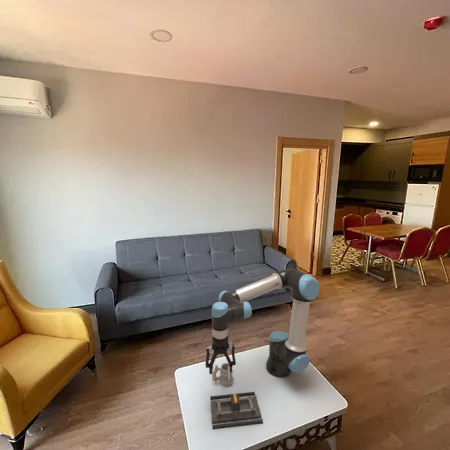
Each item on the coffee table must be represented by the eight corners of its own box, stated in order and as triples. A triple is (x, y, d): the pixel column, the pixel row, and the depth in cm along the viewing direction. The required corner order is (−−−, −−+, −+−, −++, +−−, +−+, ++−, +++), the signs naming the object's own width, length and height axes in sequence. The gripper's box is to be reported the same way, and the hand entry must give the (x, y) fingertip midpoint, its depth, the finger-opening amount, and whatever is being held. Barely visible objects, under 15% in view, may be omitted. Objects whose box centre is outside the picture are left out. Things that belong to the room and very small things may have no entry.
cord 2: (262, 421, 124) (262, 419, 124) (263, 423, 123) (263, 421, 123) (212, 427, 121) (212, 424, 121) (212, 429, 120) (212, 427, 120)
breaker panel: (255, 398, 137) (255, 393, 137) (261, 418, 126) (261, 413, 125) (210, 403, 135) (210, 397, 134) (212, 424, 123) (212, 418, 122)
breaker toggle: (238, 403, 132) (238, 392, 131) (240, 411, 128) (240, 401, 127) (230, 404, 132) (230, 393, 131) (231, 412, 127) (231, 402, 126)
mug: (234, 386, 146) (234, 367, 144) (213, 389, 143) (213, 370, 141) (231, 376, 153) (231, 357, 151) (211, 379, 151) (211, 360, 149)
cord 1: (254, 393, 140) (254, 391, 140) (254, 395, 139) (255, 393, 139) (210, 398, 138) (210, 396, 137) (210, 400, 136) (210, 398, 136)
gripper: (239, 329, 127) (239, 370, 131) (198, 332, 125) (199, 374, 129) (242, 338, 120) (242, 382, 124) (199, 341, 118) (200, 386, 121)
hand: (220, 378), depth 126 cm, fingers open, 7 cm apart
